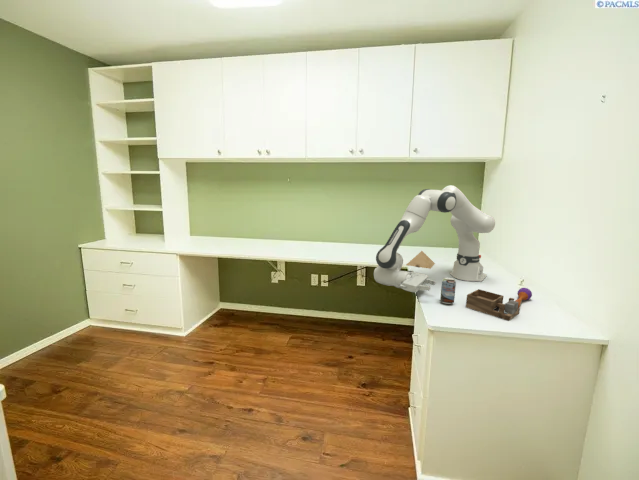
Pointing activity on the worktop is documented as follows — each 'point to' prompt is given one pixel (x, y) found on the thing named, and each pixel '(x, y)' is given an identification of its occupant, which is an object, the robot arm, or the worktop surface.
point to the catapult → (492, 304)
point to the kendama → (523, 295)
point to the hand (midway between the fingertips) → (432, 285)
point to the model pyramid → (421, 261)
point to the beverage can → (448, 290)
